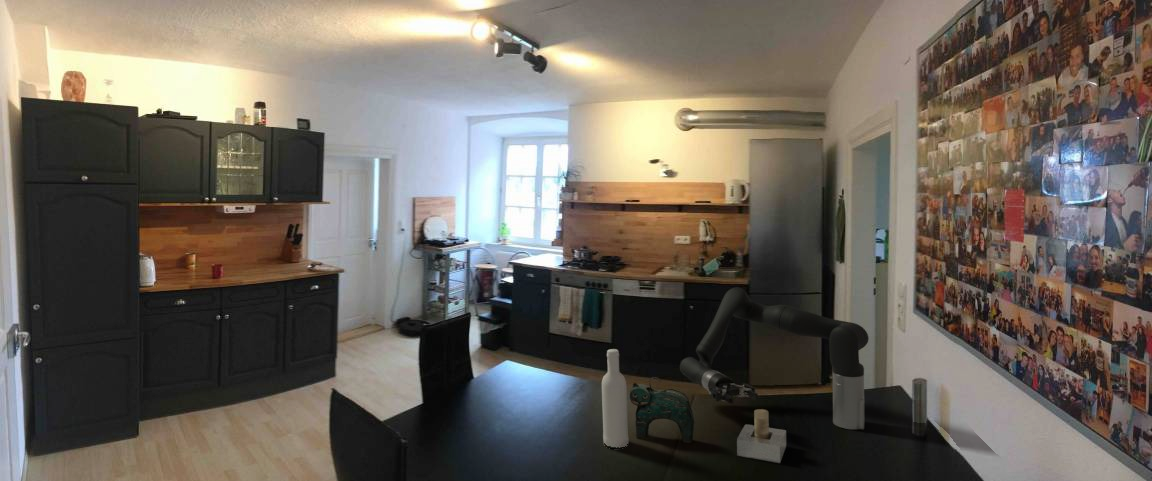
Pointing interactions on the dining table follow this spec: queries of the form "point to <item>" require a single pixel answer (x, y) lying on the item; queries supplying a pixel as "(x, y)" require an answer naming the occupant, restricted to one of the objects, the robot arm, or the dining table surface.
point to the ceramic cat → (661, 409)
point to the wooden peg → (761, 424)
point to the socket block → (761, 444)
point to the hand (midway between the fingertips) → (744, 399)
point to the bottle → (614, 403)
